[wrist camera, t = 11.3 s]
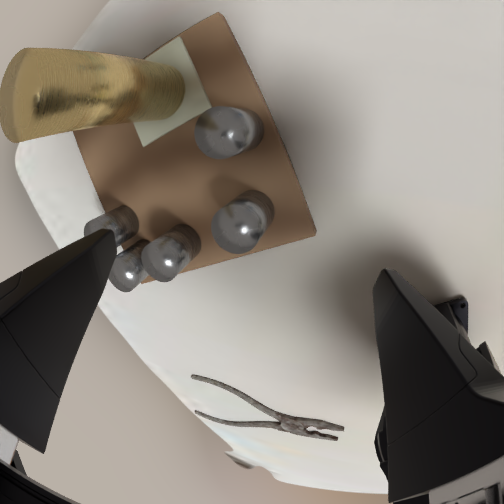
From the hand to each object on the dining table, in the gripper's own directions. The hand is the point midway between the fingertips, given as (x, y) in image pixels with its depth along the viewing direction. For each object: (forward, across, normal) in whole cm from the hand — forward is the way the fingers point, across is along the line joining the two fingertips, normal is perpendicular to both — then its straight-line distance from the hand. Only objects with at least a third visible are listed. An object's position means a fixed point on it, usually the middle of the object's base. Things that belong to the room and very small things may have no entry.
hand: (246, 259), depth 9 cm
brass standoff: (+14, +8, -3) cm, 16 cm away
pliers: (+8, -4, +28) cm, 30 cm away
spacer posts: (+12, +5, +5) cm, 14 cm away
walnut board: (+14, +7, +2) cm, 16 cm away
